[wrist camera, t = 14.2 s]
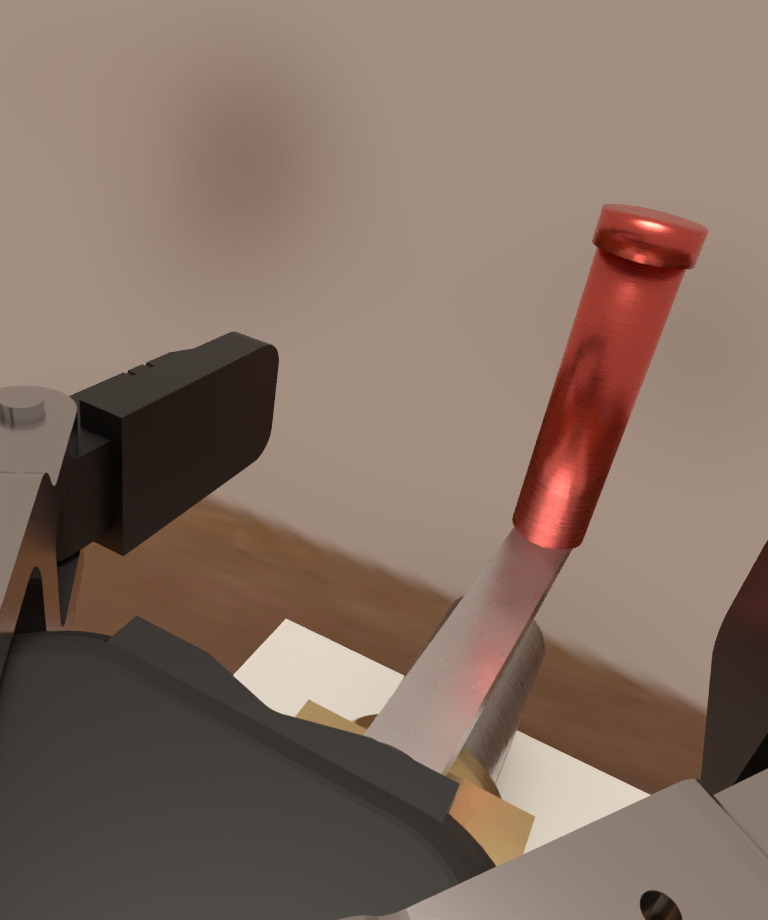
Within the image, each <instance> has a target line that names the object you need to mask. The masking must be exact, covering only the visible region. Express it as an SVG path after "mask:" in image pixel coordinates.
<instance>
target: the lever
mask: <svg viewBox="0 0 768 920" xmlns="http://www.w3.org/2000/svg"><path fill="white" fill-rule="evenodd" d="M707 233H708V229H707V228H705V227H704V226H702V225H700V224H698V223H695V222H693V221H690V220H687V219H684V218H681V217H678V216H675V215H671V214H668V213H663V212H660V211H656V210H651V209H646V208H641V207H635V206H630V205H621V204H605V205H603V207H602V210H601V214H600V217H599V220H598V223H597V227H596V230H595V233H594V236H593V240H592V242H593V244H594V245H595V246H597V250H596V253H595V256H594V259H593V262H592V266H591V269H590V272H589V276H588V279H587V282H586V285H585V288H584V291H583V294H582V298H581V301H580V304H579V307H578V310H577V313H576V317H575V320H574V323H573V327H572V330H571V333H570V336H569V339H568V342H567V345H566V348H565V352H564V355H563V358H562V361H561V364H560V368H559V371H558V374H557V377H556V380H555V383H554V387H553V390H552V393H551V396H550V399H549V403H548V406H547V409H546V412H545V415H544V419H543V422H542V425H541V428H540V431H539V435H538V438H537V441H536V445H535V447H534V450H533V454H532V457H531V460H530V463H529V466H528V470H527V473H526V476H525V479H524V482H523V486H522V489H521V492H520V495H519V498H518V501H517V505H516V508H515V511H514V514H513V518H512V520H513V524H514V528H513V530H512V531H511V532H510V534H509V535H508V536H507V538H506V539H505V541H504V542H503V543H502V545H501V546H500V548H499V549H498V550H497V552H496V553H495V554H494V556H493V557H492V558H491V560H490V561H489V563H488V564H487V565H486V567H485V568H484V570H483V571H482V572H481V574H480V575H479V576H478V578H477V579H476V581H475V582H474V583H473V585H472V586H471V588H470V589H469V590H468V592H467V593H466V594H465V596H464V597H463V598H462V600H461V601H460V603H459V604H458V605H457V607H456V608H455V609H454V611H453V612H452V614H451V615H450V616H449V618H448V619H447V620H446V622H445V623H444V625H443V626H442V627H441V629H440V630H439V631H438V633H437V634H436V636H435V637H434V638H433V640H432V641H431V642H430V644H429V645H428V647H427V648H426V649H425V651H424V652H423V654H422V655H421V656H420V658H419V659H418V660H417V662H416V663H415V665H414V666H413V667H412V669H411V670H410V671H409V673H408V674H407V676H406V677H405V678H404V680H403V681H402V682H401V684H400V685H399V687H398V688H397V689H396V691H395V692H394V693H393V695H392V696H391V698H390V699H389V700H388V702H387V703H386V704H385V706H384V707H383V709H382V710H381V711H380V713H379V714H378V715H377V717H376V718H375V720H374V721H373V722H372V724H371V725H370V726H369V728H368V729H367V731H366V732H365V733H364V735H363V736H367V737H370V738H373V739H375V740H377V741H378V742H380V743H382V744H384V745H386V746H388V747H390V748H392V749H394V750H396V751H398V752H400V753H402V754H403V755H405V756H407V757H409V758H411V759H413V760H415V761H417V762H419V763H421V764H423V765H425V766H427V767H428V768H430V769H432V770H434V771H436V772H438V773H440V774H442V775H444V776H447V774H448V772H449V770H450V769H451V767H452V765H453V763H454V761H455V760H456V758H457V756H458V754H459V752H460V751H461V749H462V747H463V745H464V743H465V742H466V740H467V738H468V736H469V734H470V733H471V731H472V729H473V727H474V725H475V724H476V722H477V720H478V718H479V716H480V715H481V713H482V711H483V709H484V707H485V706H486V704H487V702H488V700H489V698H490V697H491V695H492V693H493V691H494V689H495V688H496V686H497V684H498V682H499V680H500V679H501V677H502V675H503V673H504V671H505V670H506V668H507V666H508V664H509V662H510V661H511V659H512V657H513V655H514V653H515V652H516V650H517V648H518V646H519V644H520V643H521V641H522V639H523V637H524V635H525V634H526V632H527V630H528V628H529V626H530V625H531V623H532V621H533V619H534V617H535V616H536V614H537V612H538V610H539V608H540V606H541V605H542V603H543V601H544V599H545V597H546V596H547V594H548V592H549V590H550V589H551V587H552V585H553V583H554V581H555V579H556V578H557V576H558V574H559V572H560V570H561V569H562V567H563V565H564V563H565V561H566V560H567V558H568V556H569V554H570V553H571V551H572V549H573V548H576V547H578V546H579V545H580V544H581V543H582V541H583V539H584V536H585V534H586V531H587V528H588V526H589V523H590V520H591V518H592V515H593V512H594V510H595V507H596V505H597V502H598V499H599V497H600V494H601V491H602V489H603V486H604V483H605V481H606V478H607V476H608V473H609V470H610V468H611V465H612V463H613V460H614V457H615V455H616V452H617V449H618V447H619V444H620V441H621V439H622V436H623V433H624V431H625V428H626V426H627V423H628V420H629V418H630V415H631V412H632V410H633V407H634V405H635V402H636V399H637V397H638V394H639V391H640V388H641V386H642V383H643V381H644V378H645V376H646V373H647V370H648V368H649V365H650V362H651V360H652V357H653V355H654V352H655V349H656V347H657V344H658V341H659V339H660V336H661V334H662V331H663V328H664V326H665V323H666V320H667V317H668V315H669V312H670V310H671V307H672V305H673V302H674V299H675V297H676V294H677V291H678V289H679V286H680V283H681V281H682V278H683V276H684V273H685V270H686V269H692V268H694V267H695V264H696V262H697V259H698V257H699V254H700V251H701V249H702V246H703V244H704V241H705V238H706V236H707Z"/></svg>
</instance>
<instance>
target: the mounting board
mask: <svg viewBox="0 0 768 920" xmlns="http://www.w3.org/2000/svg"><path fill="white" fill-rule="evenodd" d="M233 676H234V677H235V678H236V679H237V680H239V681H240V682H241V683H242V684H243V685H244V686H245V687H246V688H247V689H249V690H250V691H251V692H252V693H253V694H254V695H255V696H256V697H257V698H259V699H260V700H261V701H262V702H263V703H264V704H265V705H266V706H268V707H269V708H270V709H272V710H274V711H276V712H279V713H282V714H285V715H289V716H292V717H295V716H296V715H297V714H298V712H299V711H300V710H301V708H302V707H303V706H304V705H305V703H306V702H307V701H308V699H309V700H311V701H313V702H315V703H317V704H318V705H320V706H322V707H324V708H326V709H328V710H330V711H332V712H334V713H336V714H338V715H340V716H342V717H344V718H346V719H348V720H349V721H353V720H355V719H357V718H360V717H363V716H367V715H374V714H379V713H380V711H381V710H382V709H383V707H384V706H385V704H386V703H387V702H388V700H389V699H390V698H391V696H392V695H393V693H394V692H395V691H396V689H397V687H398V686H399V684H400V683H401V681H402V680H403V678H404V676H403V675H401V674H399V673H397V672H395V671H393V670H391V669H389V668H387V667H385V666H383V665H381V664H379V663H377V662H374V661H372V660H370V659H368V658H366V657H364V656H362V655H360V654H358V653H356V652H354V651H352V650H350V649H348V648H346V647H343V646H341V645H339V644H337V643H335V642H333V641H331V640H329V639H327V638H325V637H323V636H321V635H319V634H317V633H315V632H312V631H310V630H308V629H306V628H304V627H302V626H300V625H298V624H296V623H294V622H292V621H290V620H288V619H285V620H284V622H283V623H282V624H281V625H280V626H279V627H278V628H277V629H276V630H275V631H274V632H273V633H272V634H271V635H270V637H269V638H268V639H267V640H266V641H265V642H264V643H263V644H262V645H261V646H260V647H259V648H258V649H257V650H256V651H255V653H254V654H253V655H252V656H251V657H250V658H249V659H248V660H247V661H246V662H245V663H244V664H243V665H242V666H241V668H240V669H239V670H238V671H237V672H236V673H235V674H234V675H233ZM496 787H497V788H498V790H499V793H500V795H501V798H502V800H504V801H506V802H508V803H510V804H512V805H514V806H516V807H518V808H520V809H522V810H524V811H526V812H528V813H529V814H531V815H533V816H535V819H534V822H533V825H532V828H531V832H530V835H529V838H528V841H527V844H526V847H525V850H524V853H523V854H525V853H527V852H529V851H531V850H534V849H536V848H538V847H540V846H542V845H544V844H546V843H549V842H551V841H553V840H555V839H557V838H559V837H562V836H564V835H566V834H568V833H570V832H572V831H575V830H577V829H579V828H581V827H583V826H585V825H588V824H590V823H592V822H594V821H596V820H598V819H600V818H603V817H605V816H607V815H609V814H611V813H613V812H616V811H618V810H620V809H622V808H624V807H626V806H629V805H631V804H633V803H635V802H637V801H639V800H642V799H644V798H646V797H648V796H650V795H649V794H647V793H645V792H643V791H641V790H639V789H637V788H635V787H633V786H631V785H629V784H626V783H624V782H622V781H620V780H618V779H616V778H614V777H612V776H610V775H608V774H606V773H604V772H602V771H600V770H598V769H596V768H593V767H591V766H589V765H587V764H585V763H583V762H581V761H579V760H577V759H575V758H573V757H571V756H569V755H567V754H565V753H562V752H560V751H558V750H556V749H554V748H552V747H550V746H548V745H546V744H544V743H542V742H540V741H538V740H536V739H534V738H531V737H529V736H527V735H525V734H523V733H521V732H519V731H516V733H515V736H514V739H513V741H512V744H511V746H510V749H509V752H508V754H507V757H506V759H505V762H504V764H503V767H502V770H501V772H500V775H499V777H498V780H497V782H496Z"/></svg>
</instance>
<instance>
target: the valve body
mask: <svg viewBox="0 0 768 920" xmlns="http://www.w3.org/2000/svg"><path fill="white" fill-rule="evenodd" d="M464 596H465V595H464ZM464 596H462V597H460V598H458V599H456V600H455V601H454V602H453V603H451V605H450V606H449V607H448V608H447V610H446V612H445V613H444V615H443V616H442V618H441V620H440V621H439V623H438V624H437V626H436V627H435V629H434V631H433V632H432V634H431V635H430V637H429V638H428V640H427V642H426V643H425V645H424V646H423V648H422V650H421V651H420V653H419V654H418V656H417V657H416V659H415V661H414V662H413V664H412V665H411V667H410V668H409V670H408V672H407V673H406V675H405V676H404V678H405V677H406V676H407V674H408V673H409V671H410V670H411V669H412V667H413V666H414V665H415V663H416V662H417V660H418V659H419V658H420V656H421V655H422V654H423V652H424V651H425V649H426V648H427V647H428V645H429V644H430V642H431V641H432V640H433V638H434V637H435V636H436V634H437V633H438V631H439V630H440V629H441V627H442V626H443V625H444V623H445V622H446V620H447V619H448V618H449V616H450V615H451V614H452V612H453V611H454V609H455V608H456V607H457V605H458V604H459V603H460V601H461V600H462V598H463V597H464ZM545 652H546V647H545V641H544V637H543V634H542V632H541V630H540V628H539V626H538V625H537V623H536V622H535V620H534V619H533V621H532V623H531V625H530V626H529V628H528V630H527V632H526V634H525V635H524V637H523V639H522V641H521V643H520V644H519V646H518V648H517V650H516V652H515V653H514V655H513V657H512V659H511V661H510V662H509V664H508V666H507V668H506V670H505V671H504V673H503V675H502V677H501V679H500V680H499V682H498V684H497V686H496V688H495V689H494V691H493V693H492V695H491V697H490V698H489V700H488V702H487V704H486V706H485V707H484V709H483V711H482V713H481V715H480V716H479V718H478V720H477V722H476V724H475V725H474V727H473V729H472V731H471V733H470V734H469V736H468V738H467V740H466V742H465V743H464V745H463V747H462V749H461V751H460V752H459V754H458V756H457V758H456V760H455V761H454V763H453V765H452V767H451V769H450V770H449V772H448V774H447V776H446V777H448V778H450V779H452V780H453V781H455V782H457V783H459V784H460V785H459V787H458V790H457V793H456V796H455V798H454V801H453V804H452V807H451V809H450V812H449V814H450V815H451V816H452V817H453V818H454V819H455V820H456V821H458V822H459V823H460V824H461V825H462V826H463V827H464V828H465V829H466V830H467V831H468V832H469V833H470V834H471V835H472V836H473V837H474V839H475V840H476V841H477V842H478V843H479V844H480V845H481V846H482V847H483V849H484V850H485V851H486V853H487V854H488V855H489V857H490V858H491V859H492V861H493V862H494V864H495V865H496V866H499V865H501V864H503V863H505V862H508V861H510V860H512V859H514V858H516V857H518V856H521V855H523V853H524V850H525V847H526V844H527V841H528V838H529V835H530V832H531V828H532V825H533V822H534V819H535V816H533V815H531V814H529V813H528V812H526V811H524V810H522V809H520V808H518V807H516V806H514V805H512V804H510V803H508V802H506V801H504V800H502V798H501V795H500V793H499V790H498V788H497V787H496V782H497V780H498V777H499V775H500V772H501V770H502V767H503V764H504V762H505V759H506V757H507V754H508V752H509V749H510V746H511V744H512V741H513V739H514V736H515V733H516V731H517V728H518V726H519V722H520V719H521V717H522V714H523V712H524V709H525V707H526V704H527V702H528V699H529V697H530V694H531V692H532V689H533V687H534V684H535V682H536V679H537V677H538V674H539V672H540V669H541V667H542V664H543V662H544V658H545ZM404 678H403V680H404ZM403 680H402V681H403ZM402 681H401V682H402ZM400 684H401V683H400ZM400 684H399V685H400ZM398 687H399V686H398ZM398 687H397V688H398ZM377 715H378V714H374V715H367V716H363V717H360V718H357V719H355V720H353V721H349V720H348V719H346V718H344V717H342V716H340V715H338V714H336V713H334V712H332V711H330V710H328V709H326V708H324V707H322V706H320V705H318V704H317V703H315V702H313V701H311V700H309V699H308V701H307V702H306V703H305V705H304V706H303V707H302V708H301V710H300V711H299V712H298V714H297V715H296V716H295V717H296V718H300V719H303V720H307V721H311V722H315V723H318V724H322V725H326V726H329V727H333V728H337V729H341V730H344V731H348V732H352V733H355V734H359V735H364V733H365V732H366V731H367V729H368V728H369V726H370V725H371V724H372V722H373V721H374V720H375V718H376V717H377Z"/></svg>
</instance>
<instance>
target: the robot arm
mask: <svg viewBox="0 0 768 920" xmlns="http://www.w3.org/2000/svg"><path fill="white" fill-rule="evenodd" d="M278 364H279V357H278V352H277V349H276V348H275V347H274V346H273V345H271V344H268V343H265V342H262V341H260V340H257V339H254V338H251V337H249V336H246V335H243V334H240V333H238V332H230V333H228V334H225V335H223V336H221V337H219V338H217V339H214V340H212V341H210V342H207V343H205V344H203V345H201V346H199V347H196V348H194V349H188V350H182V351H176V352H170V353H167V354H165V355H163V356H161V357H158V358H156V359H154V360H151V361H149V362H147V363H146V365H145V366H144V365H140V366H138V367H135V368H133V369H130V370H128V373H127V374H126V373H121V374H119V375H117V376H114V377H112V378H110V379H107V380H105V381H103V382H101V383H98V384H96V385H94V386H91V387H89V388H87V389H85V390H82V391H80V392H78V393H75V394H73V395H71V396H67V395H66V394H64V393H62V392H59V391H56V390H53V389H49V388H44V387H34V386H12V387H4V388H0V920H768V541H767V542H766V544H765V546H764V547H763V549H762V551H761V553H760V554H759V556H758V558H757V560H756V562H755V563H754V565H753V567H752V569H751V571H750V573H749V574H748V576H747V578H746V580H745V581H744V583H743V585H742V587H741V589H740V591H739V592H738V594H737V596H736V598H735V599H734V601H733V603H732V605H731V607H730V608H729V610H728V612H727V614H726V616H725V618H724V620H723V622H722V625H721V627H720V630H719V632H718V635H717V638H716V641H715V645H714V650H713V654H712V665H711V675H710V686H709V696H708V707H707V718H706V729H705V740H704V751H703V761H702V772H701V781H700V780H698V779H688V780H684V781H681V782H679V783H676V784H674V785H672V786H670V787H667V788H665V789H663V790H661V791H659V792H657V793H655V794H652V795H650V796H648V797H646V798H644V799H642V800H639V801H637V802H635V803H633V804H631V805H629V806H626V807H624V808H622V809H620V810H618V811H616V812H613V813H611V814H609V815H607V816H605V817H603V818H600V819H598V820H596V821H594V822H592V823H590V824H588V825H585V826H583V827H581V828H579V829H577V830H575V831H572V832H570V833H568V834H566V835H564V836H562V837H559V838H557V839H555V840H553V841H551V842H549V843H546V844H544V845H542V846H540V847H538V848H536V849H534V850H531V851H529V852H527V853H525V854H523V855H521V856H518V857H516V858H514V859H512V860H510V861H508V862H505V863H503V864H501V865H499V866H496V865H495V864H494V862H493V861H492V859H491V858H490V857H489V855H488V854H487V853H486V851H485V850H484V849H483V847H482V846H481V845H480V844H479V843H478V842H477V841H476V840H475V839H474V837H473V836H472V835H471V834H470V833H469V832H468V831H467V830H466V829H465V828H464V827H463V826H462V825H461V824H460V823H459V822H458V821H456V820H455V819H454V818H453V817H452V816H451V815H450V814H449V812H450V809H451V807H452V804H453V801H454V798H455V796H456V793H457V790H458V787H459V785H460V784H459V783H457V782H455V781H453V780H452V779H450V778H448V777H446V776H444V775H442V774H440V773H438V772H436V771H434V770H432V769H430V768H428V767H427V766H425V765H423V764H421V763H419V762H417V761H415V760H413V759H411V758H409V757H407V756H405V755H403V754H402V753H400V752H398V751H396V750H394V749H392V748H390V747H388V746H386V745H384V744H382V743H380V742H378V741H377V740H375V739H373V738H370V737H367V736H363V735H359V734H355V733H352V732H348V731H344V730H341V729H337V728H333V727H329V726H326V725H322V724H318V723H315V722H311V721H307V720H303V719H300V718H296V717H292V716H289V715H285V714H282V713H279V712H276V711H274V710H272V709H270V708H269V707H268V706H266V705H265V704H264V703H263V702H262V701H261V700H260V699H259V698H257V697H256V696H255V695H254V694H253V693H252V692H251V691H250V690H249V689H247V688H246V687H245V686H244V685H243V684H242V683H241V682H240V681H239V680H237V679H236V678H235V677H234V676H233V675H232V674H231V673H230V672H229V671H227V670H226V669H225V668H224V667H223V666H222V665H221V664H220V663H219V662H218V661H216V660H215V659H214V658H213V657H212V656H211V655H210V654H209V653H207V652H205V651H204V650H202V649H200V648H198V647H196V646H194V645H192V644H190V643H188V642H186V641H184V640H182V639H180V638H179V637H177V636H175V635H173V634H171V633H169V632H167V631H165V630H163V629H161V628H159V627H157V626H155V625H154V624H152V623H150V622H148V621H146V620H144V619H142V618H140V617H138V616H136V617H135V618H134V619H132V620H131V621H130V622H129V623H128V624H126V625H125V626H124V627H123V628H122V629H120V630H119V631H118V632H117V633H116V634H114V635H113V636H108V635H104V634H97V633H90V632H82V631H71V628H72V623H73V618H74V613H75V608H76V603H77V598H78V593H79V588H80V583H81V578H82V573H83V568H84V547H85V546H87V545H88V544H90V543H91V542H93V541H94V542H96V543H98V544H100V545H102V546H104V547H106V548H108V549H110V550H112V551H114V552H116V553H118V554H120V555H122V556H124V555H126V554H127V553H128V552H130V551H131V550H133V549H134V548H135V547H137V546H138V545H140V544H141V543H142V542H144V541H145V540H146V539H148V538H149V537H151V536H152V535H153V534H155V533H156V532H158V531H159V530H160V529H162V528H163V527H164V526H166V525H167V524H169V523H170V522H171V521H173V520H174V519H176V518H177V517H178V516H180V515H181V514H183V513H184V512H185V511H187V510H188V509H189V508H191V507H192V506H194V505H195V504H196V503H198V502H199V501H201V500H202V499H203V498H205V497H206V496H207V495H209V494H210V493H212V492H213V491H214V490H216V489H217V488H218V487H220V486H221V485H223V484H224V483H225V482H227V481H228V480H230V479H231V478H232V477H234V476H235V475H237V474H238V473H239V472H241V471H242V470H243V469H245V468H246V467H248V466H249V465H250V464H251V463H253V462H254V461H255V460H257V459H258V458H259V456H260V455H261V454H262V452H263V450H264V449H265V447H266V445H267V443H268V440H269V437H270V434H271V429H272V420H273V411H274V401H275V393H276V383H277V374H278Z"/></svg>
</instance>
